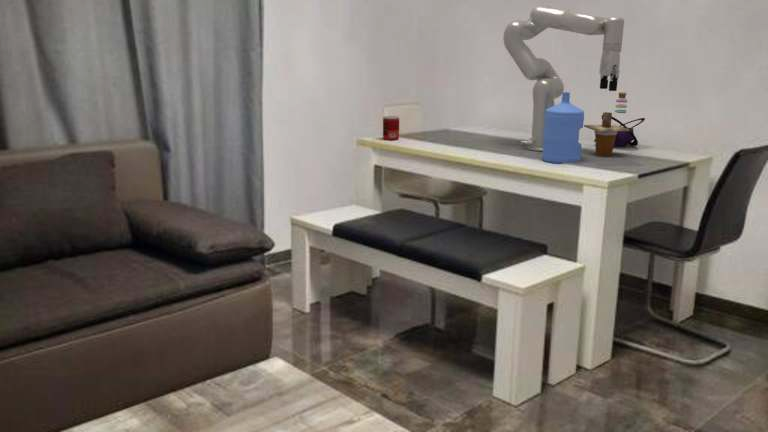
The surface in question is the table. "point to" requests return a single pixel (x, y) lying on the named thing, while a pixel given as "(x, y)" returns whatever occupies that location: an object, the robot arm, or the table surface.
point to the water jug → (562, 132)
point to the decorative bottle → (624, 136)
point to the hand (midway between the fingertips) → (607, 89)
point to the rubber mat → (615, 162)
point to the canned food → (390, 128)
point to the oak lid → (606, 124)
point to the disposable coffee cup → (605, 142)
